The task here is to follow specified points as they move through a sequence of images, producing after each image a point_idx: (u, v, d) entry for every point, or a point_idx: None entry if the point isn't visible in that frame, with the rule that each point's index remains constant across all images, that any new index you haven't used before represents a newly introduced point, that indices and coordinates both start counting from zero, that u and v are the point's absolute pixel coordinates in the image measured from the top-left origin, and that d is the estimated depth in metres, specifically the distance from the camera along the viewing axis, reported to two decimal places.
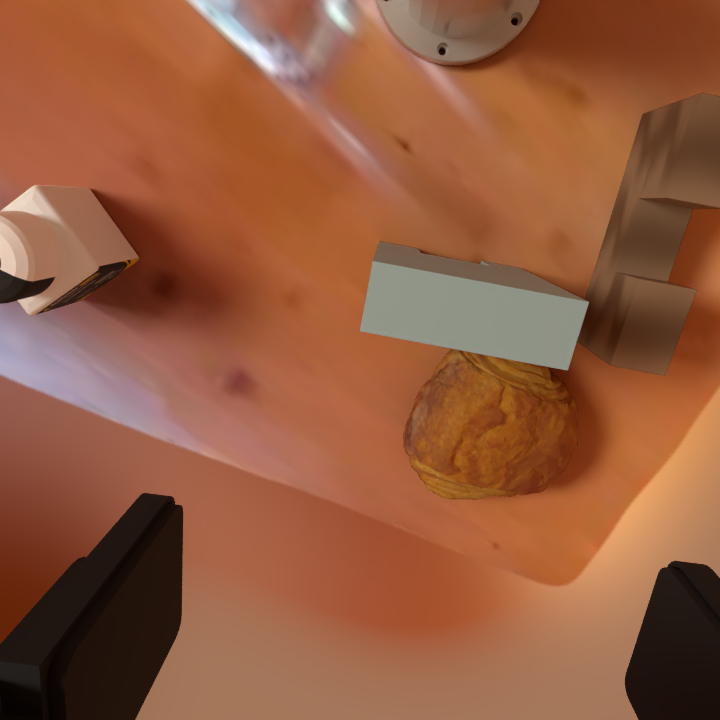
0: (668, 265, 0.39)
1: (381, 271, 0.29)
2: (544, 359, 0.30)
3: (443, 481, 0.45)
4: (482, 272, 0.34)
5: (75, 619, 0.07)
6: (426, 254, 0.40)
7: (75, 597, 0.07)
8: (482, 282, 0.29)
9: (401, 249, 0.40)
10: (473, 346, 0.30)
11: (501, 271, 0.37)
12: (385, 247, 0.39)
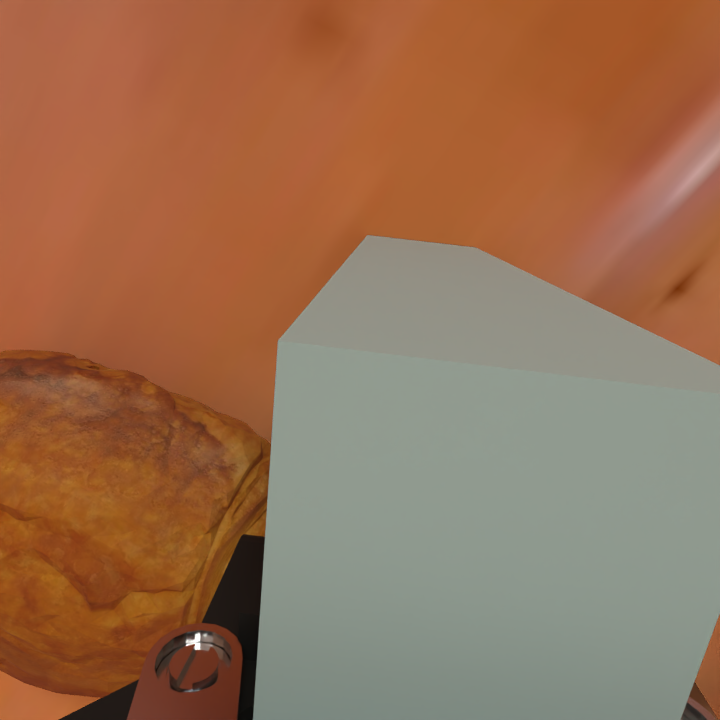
0: None
1: (712, 462, 0.04)
2: None
3: None
4: None
5: None
6: None
7: None
8: None
9: None
10: None
11: None
12: None
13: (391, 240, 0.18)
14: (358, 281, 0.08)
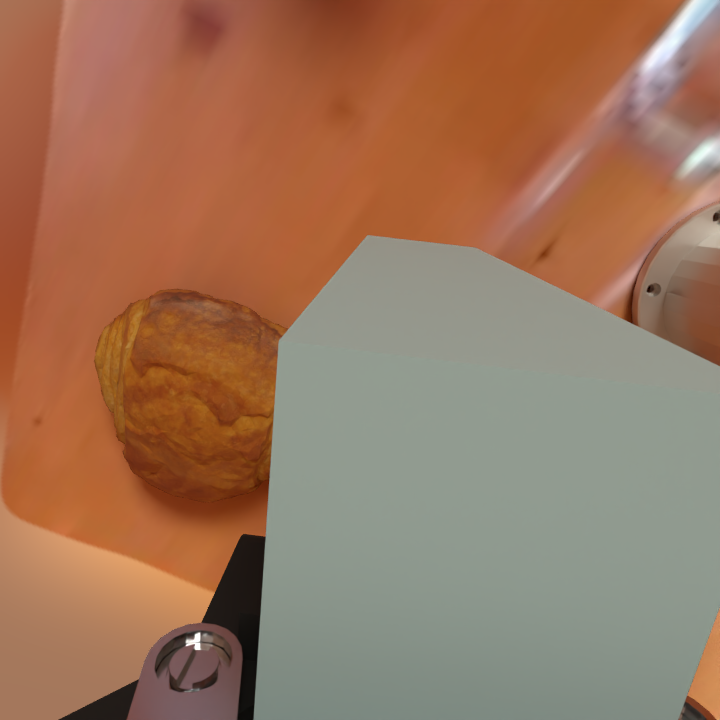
0: None
1: (710, 461, 0.04)
2: None
3: (119, 353, 0.32)
4: None
5: None
6: None
7: None
8: None
9: None
10: None
11: None
12: None
13: (391, 240, 0.18)
14: (358, 281, 0.08)
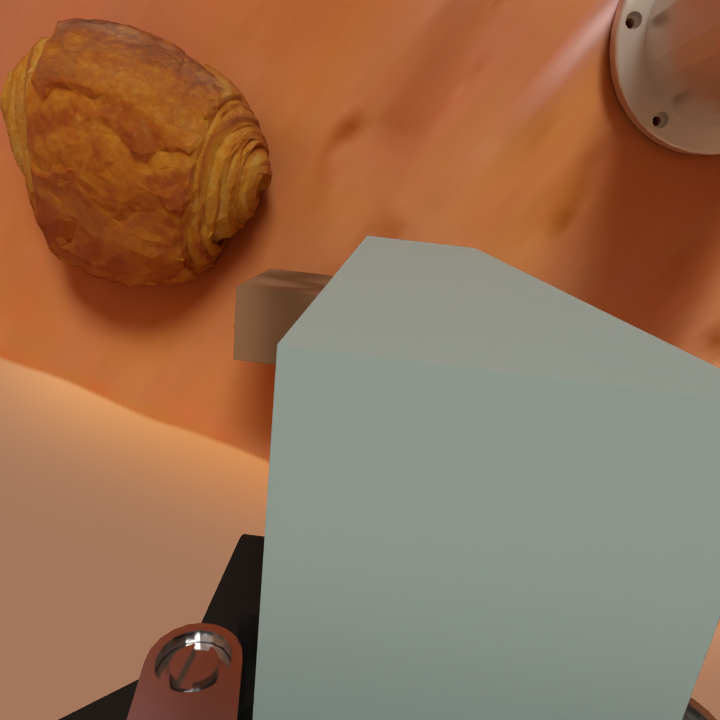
0: None
1: (712, 466, 0.04)
2: None
3: (23, 85, 0.28)
4: None
5: None
6: None
7: None
8: None
9: None
10: None
11: None
12: None
13: (391, 241, 0.18)
14: (358, 283, 0.08)
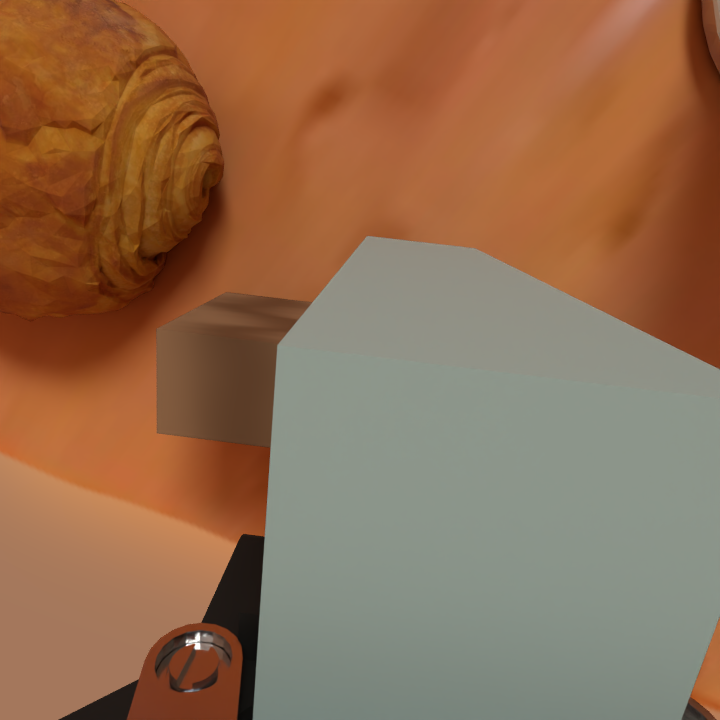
0: None
1: (712, 466, 0.04)
2: None
3: None
4: None
5: None
6: None
7: None
8: None
9: None
10: None
11: None
12: None
13: (391, 241, 0.18)
14: (358, 283, 0.08)
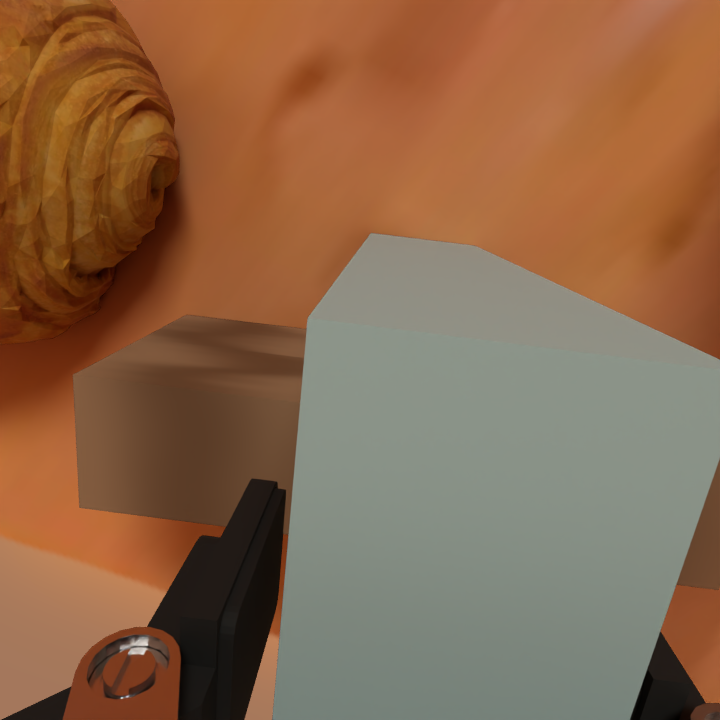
0: None
1: (677, 423, 0.05)
2: None
3: None
4: None
5: (233, 583, 0.08)
6: None
7: (226, 565, 0.08)
8: None
9: None
10: None
11: None
12: None
13: (394, 238, 0.19)
14: (368, 273, 0.08)
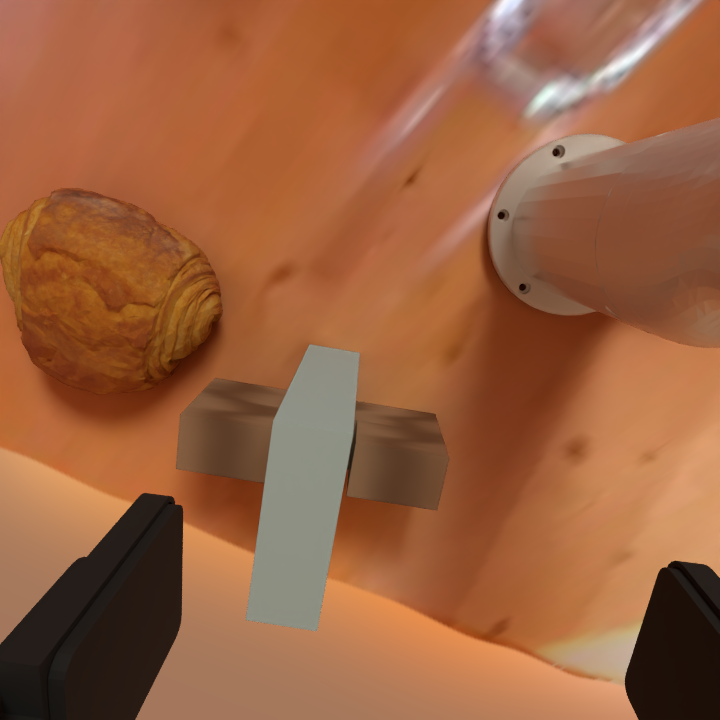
0: None
1: (341, 442, 0.26)
2: (255, 599, 0.29)
3: (19, 241, 0.35)
4: None
5: (75, 619, 0.07)
6: None
7: (75, 597, 0.07)
8: (333, 539, 0.28)
9: None
10: (264, 534, 0.28)
11: None
12: None
13: (318, 351, 0.40)
14: (292, 396, 0.30)
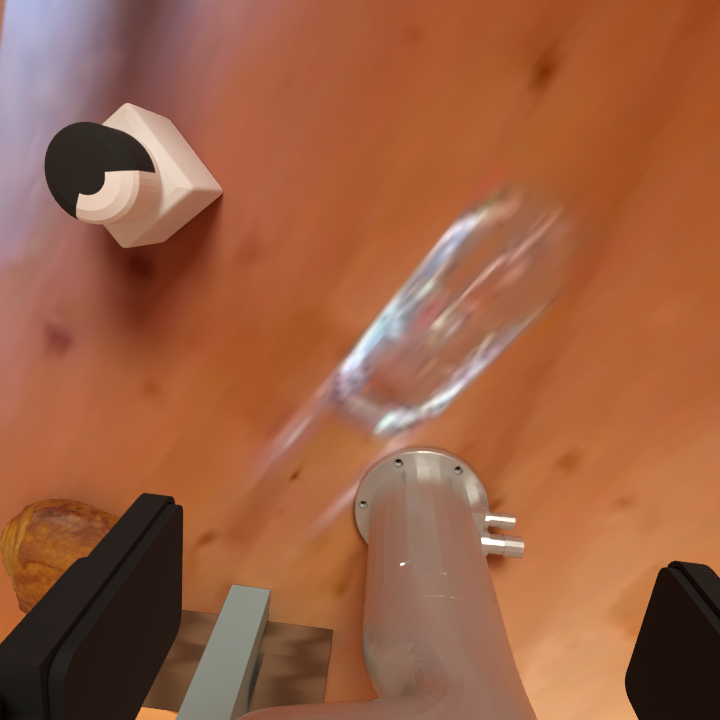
0: None
1: None
2: None
3: (12, 548, 0.49)
4: None
5: (75, 619, 0.07)
6: (257, 653, 0.51)
7: (75, 597, 0.07)
8: None
9: (259, 636, 0.51)
10: None
11: None
12: (257, 633, 0.49)
13: (236, 596, 0.53)
14: (193, 688, 0.43)
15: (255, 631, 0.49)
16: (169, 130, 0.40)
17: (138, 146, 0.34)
